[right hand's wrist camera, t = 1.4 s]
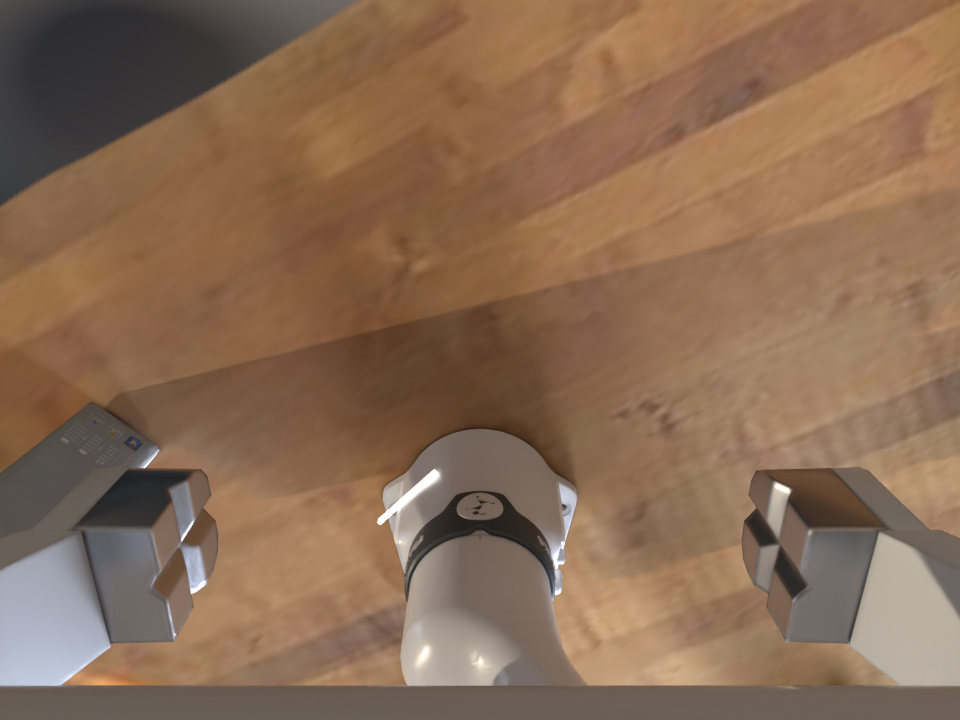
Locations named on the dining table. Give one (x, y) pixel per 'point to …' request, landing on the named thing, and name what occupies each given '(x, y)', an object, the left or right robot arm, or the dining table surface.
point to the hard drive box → (67, 465)
